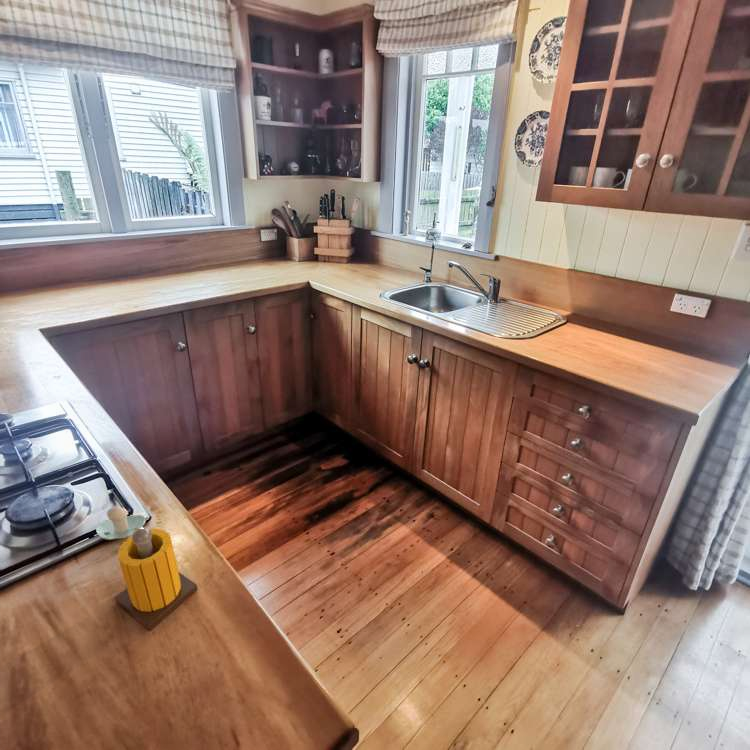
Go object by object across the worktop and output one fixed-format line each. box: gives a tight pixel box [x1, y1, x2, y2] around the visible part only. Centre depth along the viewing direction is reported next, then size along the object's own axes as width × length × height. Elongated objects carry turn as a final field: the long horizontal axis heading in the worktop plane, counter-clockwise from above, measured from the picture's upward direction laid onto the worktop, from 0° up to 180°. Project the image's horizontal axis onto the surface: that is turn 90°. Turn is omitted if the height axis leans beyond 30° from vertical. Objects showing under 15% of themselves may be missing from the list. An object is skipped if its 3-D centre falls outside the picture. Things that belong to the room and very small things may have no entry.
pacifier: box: [95, 506, 147, 541], centre depth 78 cm, size 7×6×6 cm
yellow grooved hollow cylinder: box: [117, 528, 181, 612], centre depth 66 cm, size 7×7×9 cm
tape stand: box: [114, 526, 199, 632], centre depth 65 cm, size 8×8×13 cm
